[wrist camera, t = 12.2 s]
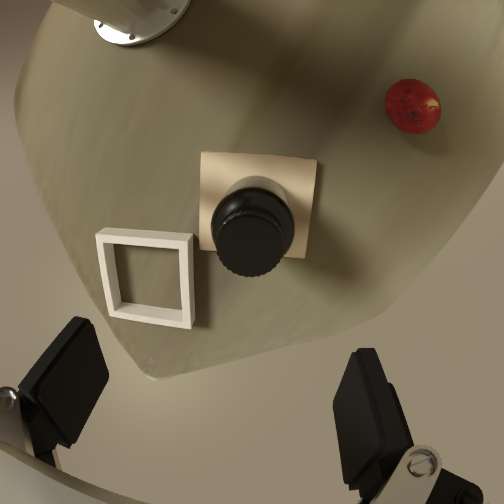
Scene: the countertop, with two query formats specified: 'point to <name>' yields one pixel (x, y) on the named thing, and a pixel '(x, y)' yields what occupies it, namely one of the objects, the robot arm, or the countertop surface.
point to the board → (243, 165)
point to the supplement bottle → (252, 226)
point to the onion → (413, 106)
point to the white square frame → (150, 239)
